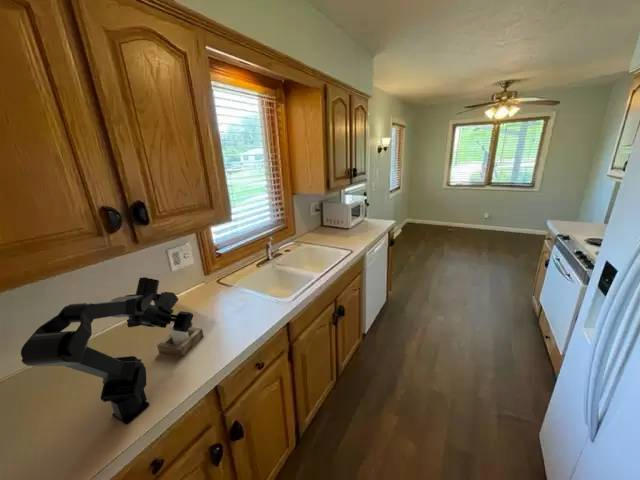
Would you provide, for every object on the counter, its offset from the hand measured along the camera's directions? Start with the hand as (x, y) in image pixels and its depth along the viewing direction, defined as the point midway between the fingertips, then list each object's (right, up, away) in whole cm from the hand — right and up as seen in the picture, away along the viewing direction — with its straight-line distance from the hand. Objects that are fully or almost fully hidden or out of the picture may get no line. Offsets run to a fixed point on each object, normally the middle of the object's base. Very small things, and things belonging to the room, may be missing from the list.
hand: (180, 323), depth 100 cm
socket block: (0, -8, +1) cm, 8 cm away
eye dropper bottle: (0, -8, +1) cm, 8 cm away
